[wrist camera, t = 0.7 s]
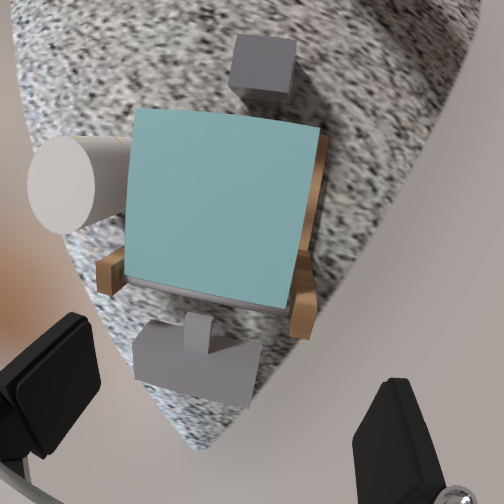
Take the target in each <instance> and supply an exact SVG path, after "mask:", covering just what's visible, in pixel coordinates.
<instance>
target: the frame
mask: <svg viewBox="0 0 504 504" xmlns="http://www.w3.org/2000/svg"><path fill="white" fill-rule="evenodd" d="M328 140H329V136H328V135H323V134H319V138H318V144H317V150H316V156H315V162H314V168H313V173H312V179H311V185H310V190H309V196H308V201H307V206H306V212H305V217H304V222H303V227H302V232H301V237H300V242H299V247H298V252H297V257H296V262H295V266H294V271H293V276H292V281H291V285H290V286H291V303H290V326H289V337H295V338H301V339H307V340H309V338H310V335H311V332H312V328H313V325H314V321H315V317H316V314H317V310H318V308H317V300H316V293H315V286H314V279H313V272H312V265H311V258H310V252H309V249H308V246H309V242H310V237H311V232H312V227H313V222H314V217H315V212H316V207H317V202H318V196H319V191H320V186H321V180H322V175H323V169H324V164H325V158H326V152H327V146H328ZM124 255H125V245H124V246H123V247H121V248H119V249H118V250H116V251H114V252H113V253H111V254H109V255H108V256H106V257H104V258H103V259H101V260H99V261H98V262H96V282H97V292H99V293H103V294H106V295H110V296H113V295H114V294H115V293H116V292H118V291H119V290H120V289H121V288H122V287H123V286H125V285H126V284H127V282H123V281H122V280H121V275H122V272H123V270H124Z"/></svg>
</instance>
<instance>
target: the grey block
mask: <svg viewBox="0 0 504 504" xmlns="http://www.w3.org/2000/svg"><path fill="white" fill-rule="evenodd" d="M295 65H296V40H291V39H284V38H276V37H266V36H256V35H243V34H237V38H236V43H235V49H234V54H233V60H232V65H231V71H230V77H229V82H228V86H229V87H230V88H231V90H232V91H233V92H234V93H235V94H236V95H237V96H238V97H239V98H244V99H252V100H260V101H268V102H275V103H282V104H288V105H289V103H290V97H291V91H292V84H293V78H294V71H295Z"/></svg>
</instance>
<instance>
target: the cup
mask: <svg viewBox="0 0 504 504" xmlns="http://www.w3.org/2000/svg"><path fill="white" fill-rule="evenodd" d="M131 143H132V138H126V137H99V136H57V137H53V138H51V139H49V140H47V141H46V142H44V143H43V144H42V145H41V146H40V147H39V149H38V150H37V151H36V153H35V155H34V157H33V159H32V161H31V164H30V167H29V172H28V180H27V187H28V195H29V201H30V204H31V207H32V210H33V212H34V214H35V216H36V217H37V219H38V220H39V221H40V223H41V224H42V225H43V226H44V227H45V228H47V229H48V230H50V231H51V232H53V233H56V234H69V233H72V232H74V231H77V230H79V229H82V228H84V227H86V226H89V225H91V224H94V223H96V222H98V221H101V220H103V219H106V218H108V217H111V216H114V215H116V214H119V213H121V212H124V211H126V199H127V185H128V173H129V162H130V152H131Z"/></svg>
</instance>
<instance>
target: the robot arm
mask: <svg viewBox="0 0 504 504" xmlns="http://www.w3.org/2000/svg"><path fill="white" fill-rule="evenodd" d="M100 386H101V379H100V374H99V369H98V364H97V358H96V353H95V347H94V341H93V334H92V327H91V324H90V323H89V322H88V319H87V317H85V316H83V315H80V314H76V313H74V312H70V313H68V314H67V315H66V316H64V317H63V318H62V319H61V320H60V321H58V322H57V323H56V324H55V325H53V326H52V327H51V328H50V329H49V330H47V331H46V332H45V333H44V334H43V335H41V336H40V337H39V338H38V339H37V340H35V341H34V342H33V343H32V344H31V345H30V346H29V347H27V348H26V349H25V350H24V351H23V352H22V353H20V354H19V355H18V356H17V357H16V358H15V359H14V360H13V361H11V363H9V364H8V365H7V366H6V367H5V368H4V369H3V370H2V371H0V504H64V503H62V502H60V501H59V500H57V499H55V498H53V497H52V496H50V495H48V494H47V493H45V492H43V491H42V490H40V489H39V488H37V487H35V486H34V485H32V484H31V478H30V473H29V465H28V458H27V455H28V454H29V453H30V451H31V452H32V453H33V454H35V455H37V456H38V457H40V458H41V459H43V460H44V459H45V457H46V456H47V455H51V454H52V453H53V452H54V451H55V449H56V448H57V447H58V445H59V444H60V442H61V441H62V440H63V438H64V437H65V436H66V434H67V433H68V431H69V430H70V429H71V427H72V426H73V425H74V423H75V422H76V420H77V419H78V418H79V416H80V415H81V414H82V412H83V411H84V410H85V408H86V407H87V406H88V404H89V403H90V402H91V400H92V399H93V397H94V396H95V395H96V394H97V392H98V391H99V389H100ZM352 447H353V456H354V465H355V474H356V485H357V496H358V504H477V500H476V498H475V495H474V494H473V493H472V492H471V491H470V490H469V489H467V488H465V487H462V486H457V485H453V486H450V487H446V484H445V480H444V477H443V473H442V470H441V467H440V464H439V461H438V458H437V455H436V452H435V448H434V446H433V442H432V440H431V437H430V434H429V431H428V428H427V425H426V423H425V421H424V419H423V416H422V413H421V411H420V408H419V405H418V403H417V400H416V397H415V395H414V392H413V390H412V387H411V385H410V382H409V381H408V379H406V378H389V379H388V381H387V382H383V383H382V384H381V386H380V388H379V390H378V392H377V394H376V396H375V398H374V400H373V402H372V404H371V406H370V408H369V410H368V411H367V413H366V415H365V417H364V419H363V420H362V422H361V424H360V426H359V428H358V429H357V431H356V433H355V435H354V437H353V441H352Z"/></svg>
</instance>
